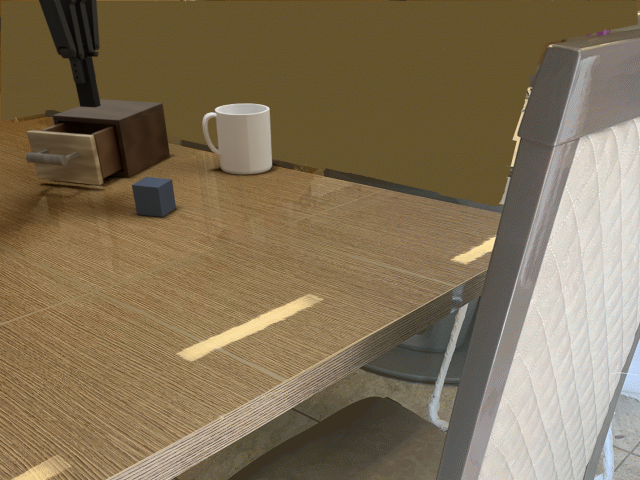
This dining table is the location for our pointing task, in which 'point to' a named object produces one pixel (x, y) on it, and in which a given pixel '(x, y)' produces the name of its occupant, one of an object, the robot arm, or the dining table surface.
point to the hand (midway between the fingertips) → (90, 105)
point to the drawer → (75, 152)
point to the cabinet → (128, 130)
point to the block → (154, 196)
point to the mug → (242, 138)
